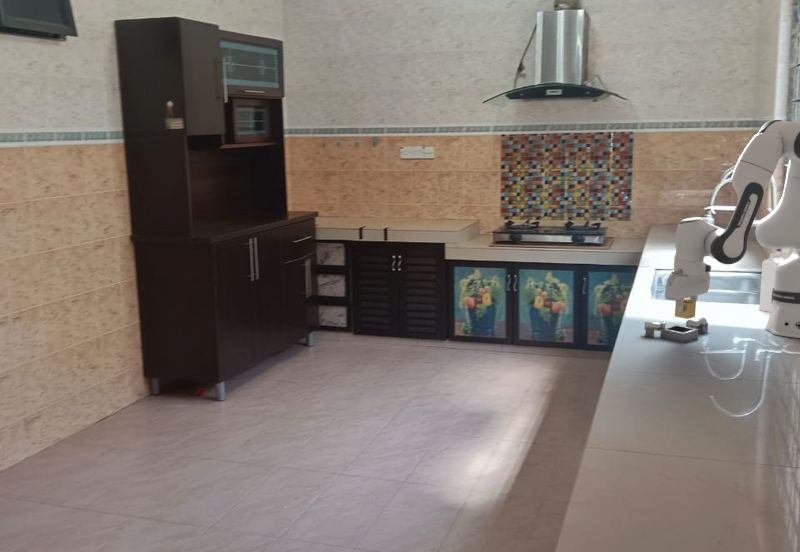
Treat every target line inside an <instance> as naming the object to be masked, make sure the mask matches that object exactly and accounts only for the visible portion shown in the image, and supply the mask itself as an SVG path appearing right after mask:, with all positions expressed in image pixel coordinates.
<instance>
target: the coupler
mask: <svg viewBox="0 0 800 552" xmlns="http://www.w3.org/2000/svg"><path fill="white" fill-rule="evenodd" d="M683 306H685V311H683V312H678V311H677V304H676V303H675V308H674V317H676V318H681V319H686V320H690V319H692V318H696V309H697V308H696V306H697V301H696V302H694V301H690V298H689V299H688V298H684V301H683Z"/></svg>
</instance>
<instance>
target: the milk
mask: <svg viewBox="0 0 800 552" xmlns="http://www.w3.org/2000/svg"><path fill="white" fill-rule="evenodd" d="M781 254H782V253H781V252H780V251H779V252H771V253H770V254H769V257H768V258H766V259H764V260H762V265H761V278H760V279H761V280H760V293H759V294H760V295H759V305H758V306H759V308H758V310H759V311H760V310H762V311H761V312H765V311H766V313H769V312H771V307H772V303H771V299H772V289H773V288H774V280H775V268H776V266H777V265H778V264H779V263H780V262H781V261H783V260H785V259H784V257H782V256H781Z"/></svg>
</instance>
